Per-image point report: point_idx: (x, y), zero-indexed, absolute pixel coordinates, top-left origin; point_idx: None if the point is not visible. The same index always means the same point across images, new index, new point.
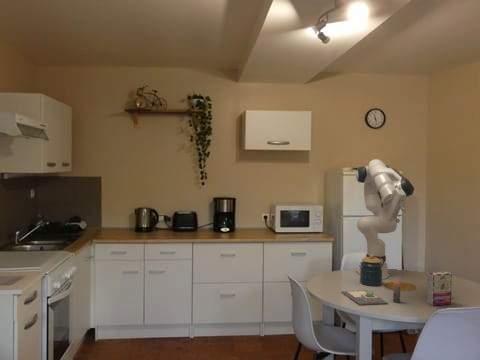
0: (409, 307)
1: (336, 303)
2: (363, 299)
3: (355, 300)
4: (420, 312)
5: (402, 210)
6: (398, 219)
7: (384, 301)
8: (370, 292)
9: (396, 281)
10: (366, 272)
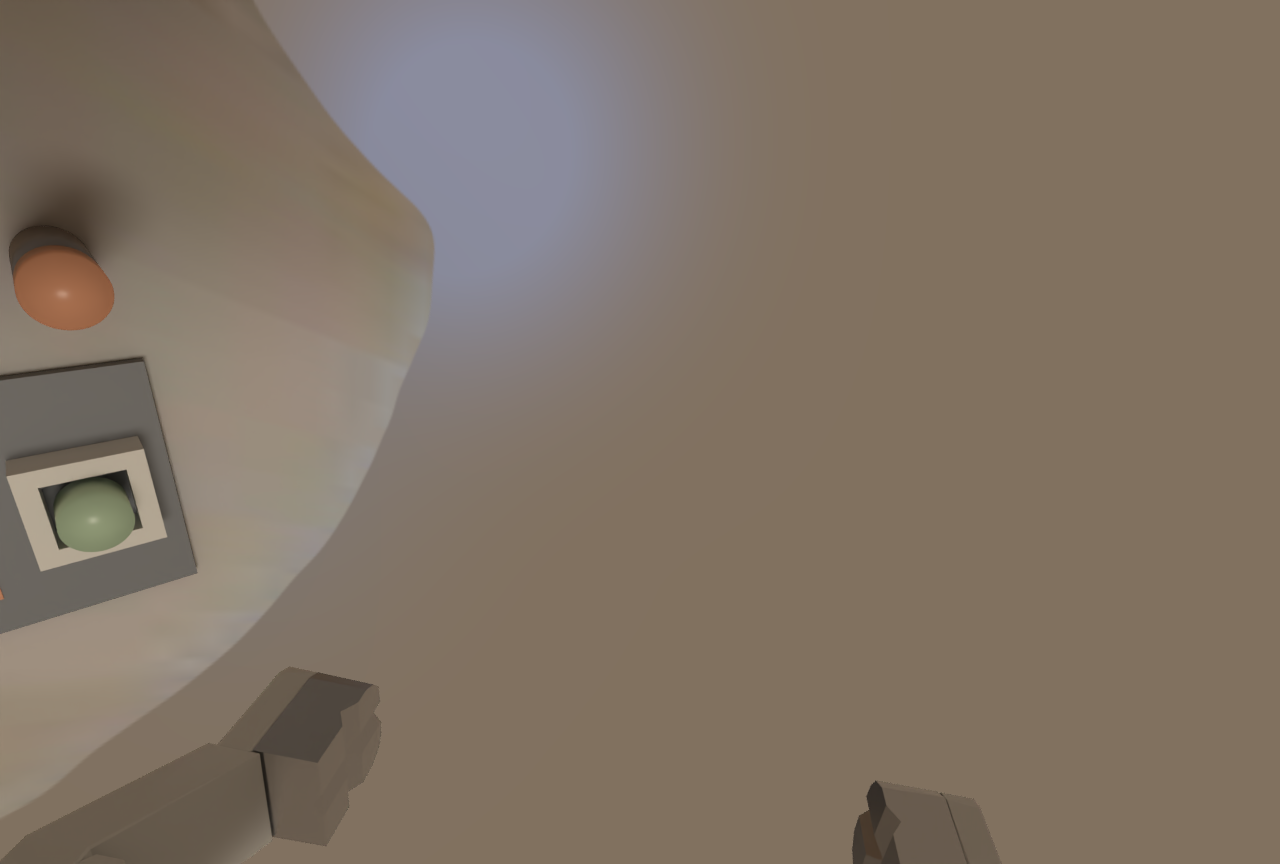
0: (223, 219)
1: (150, 704)
2: None
3: (98, 594)
4: (342, 198)
5: (871, 841)
6: (338, 753)
7: (106, 380)
8: (128, 522)
9: (85, 306)
10: None
